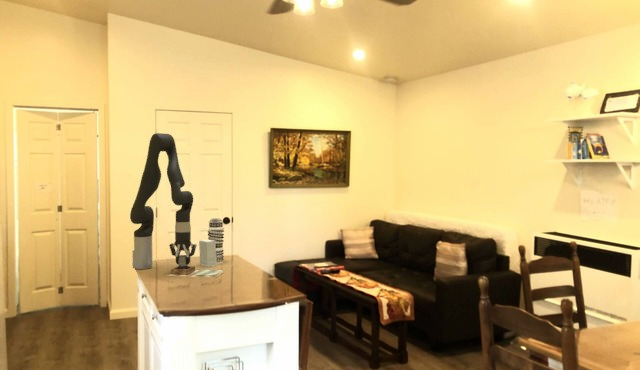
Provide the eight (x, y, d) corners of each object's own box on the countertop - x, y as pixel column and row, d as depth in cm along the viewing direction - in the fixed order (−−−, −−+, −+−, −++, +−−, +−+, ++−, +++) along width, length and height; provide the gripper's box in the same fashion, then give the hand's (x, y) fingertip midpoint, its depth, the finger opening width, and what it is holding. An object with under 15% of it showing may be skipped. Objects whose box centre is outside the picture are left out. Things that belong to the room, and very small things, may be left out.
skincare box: (216, 267, 259) (216, 240, 258) (206, 269, 255) (206, 241, 254) (208, 265, 265) (208, 238, 264) (198, 266, 261) (198, 239, 260)
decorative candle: (227, 261, 274) (227, 218, 273) (216, 264, 266) (216, 220, 265) (216, 260, 279) (215, 217, 278) (204, 262, 271) (204, 219, 270)
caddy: (165, 277, 236) (165, 270, 236) (177, 271, 250) (177, 264, 250) (214, 279, 233) (214, 272, 233) (224, 272, 247) (223, 266, 247)
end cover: (176, 272, 240) (176, 256, 240) (180, 270, 245) (180, 254, 244) (185, 272, 240) (185, 256, 239) (189, 270, 244) (189, 255, 244)
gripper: (166, 231, 238) (166, 265, 239) (193, 232, 237) (193, 266, 237) (172, 229, 246) (172, 262, 247) (199, 229, 244) (199, 263, 245)
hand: (183, 263), depth 242 cm, fingers closed on end cover, 4 cm apart
